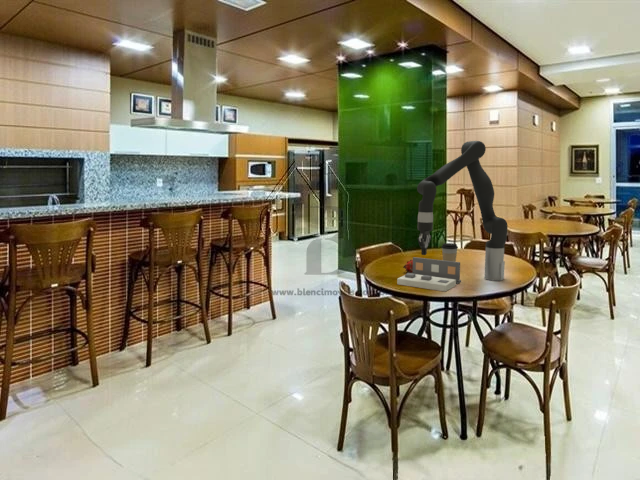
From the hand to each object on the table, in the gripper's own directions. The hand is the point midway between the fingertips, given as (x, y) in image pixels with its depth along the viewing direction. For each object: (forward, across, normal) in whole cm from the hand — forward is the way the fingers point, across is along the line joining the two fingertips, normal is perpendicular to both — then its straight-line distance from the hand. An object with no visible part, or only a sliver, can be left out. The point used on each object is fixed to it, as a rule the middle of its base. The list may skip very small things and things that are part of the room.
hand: (423, 254), depth 228 cm
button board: (+16, +1, -1) cm, 16 cm away
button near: (+16, +1, -10) cm, 19 cm away
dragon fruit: (+16, +23, +15) cm, 32 cm away
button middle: (+14, +1, -1) cm, 14 cm away
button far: (+14, +2, +8) cm, 16 cm away
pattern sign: (+16, +13, -2) cm, 21 cm away
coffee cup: (+15, +41, 0) cm, 44 cm away
